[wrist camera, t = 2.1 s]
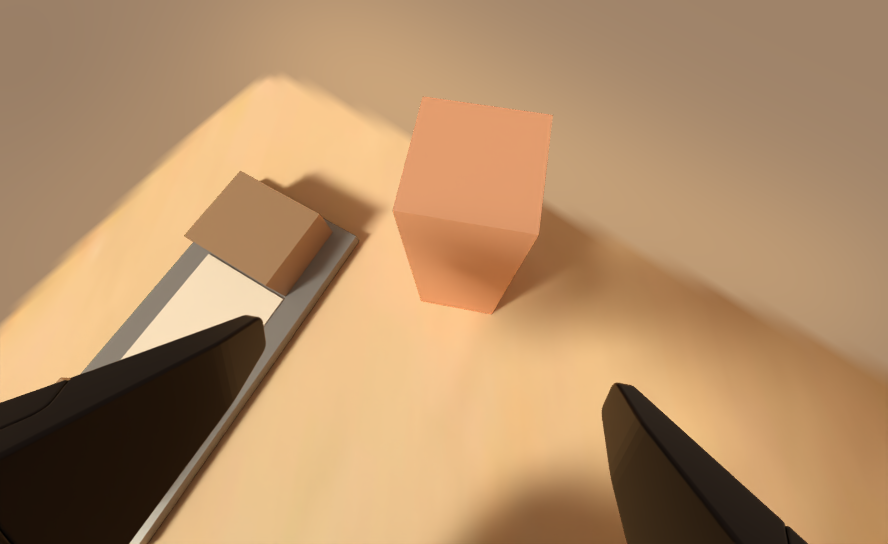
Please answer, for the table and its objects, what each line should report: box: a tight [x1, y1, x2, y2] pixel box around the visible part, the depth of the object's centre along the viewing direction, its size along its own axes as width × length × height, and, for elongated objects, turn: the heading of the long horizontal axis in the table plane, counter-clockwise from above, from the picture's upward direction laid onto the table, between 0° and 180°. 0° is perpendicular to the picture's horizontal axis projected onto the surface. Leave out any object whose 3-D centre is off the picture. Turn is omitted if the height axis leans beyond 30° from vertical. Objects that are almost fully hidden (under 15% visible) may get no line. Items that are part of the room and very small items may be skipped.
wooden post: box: [393, 97, 553, 314], centre depth 17 cm, size 4×4×12 cm
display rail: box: [56, 171, 359, 544], centre depth 20 cm, size 20×9×3 cm, turn 150°
